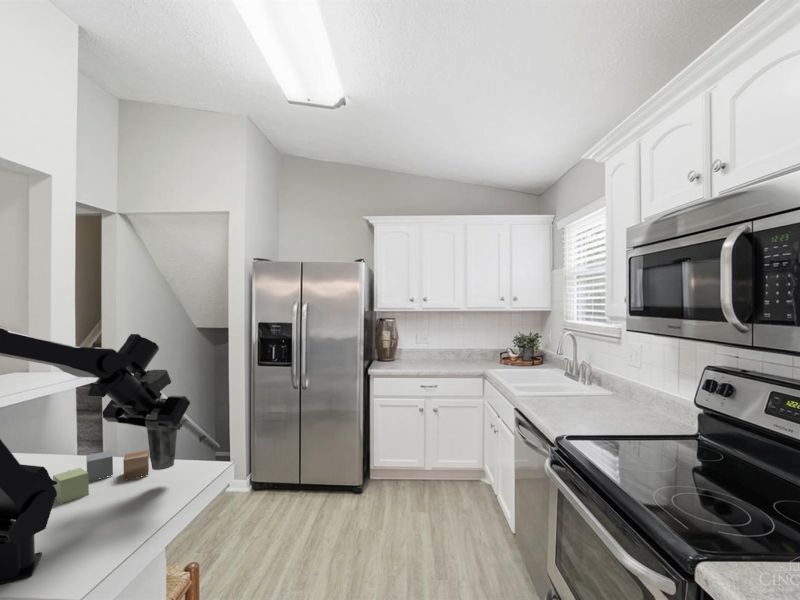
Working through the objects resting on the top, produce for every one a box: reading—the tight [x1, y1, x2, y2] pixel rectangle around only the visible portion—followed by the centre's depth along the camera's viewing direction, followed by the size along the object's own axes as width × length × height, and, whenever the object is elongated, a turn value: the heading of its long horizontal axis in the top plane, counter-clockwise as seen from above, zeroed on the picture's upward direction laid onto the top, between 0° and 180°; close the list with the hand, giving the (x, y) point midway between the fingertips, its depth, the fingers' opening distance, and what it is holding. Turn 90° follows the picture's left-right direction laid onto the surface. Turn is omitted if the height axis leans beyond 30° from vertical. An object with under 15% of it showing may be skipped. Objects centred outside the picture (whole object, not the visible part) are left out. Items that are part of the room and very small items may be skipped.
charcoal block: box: [86, 450, 114, 482], centre depth 103 cm, size 5×5×5 cm
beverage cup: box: [144, 397, 178, 471], centre depth 96 cm, size 7×7×20 cm
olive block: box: [52, 467, 90, 504], centre depth 92 cm, size 5×5×5 cm
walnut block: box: [122, 449, 150, 481], centre depth 103 cm, size 5×5×5 cm
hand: (167, 427), depth 98 cm, fingers closed on beverage cup, 7 cm apart
